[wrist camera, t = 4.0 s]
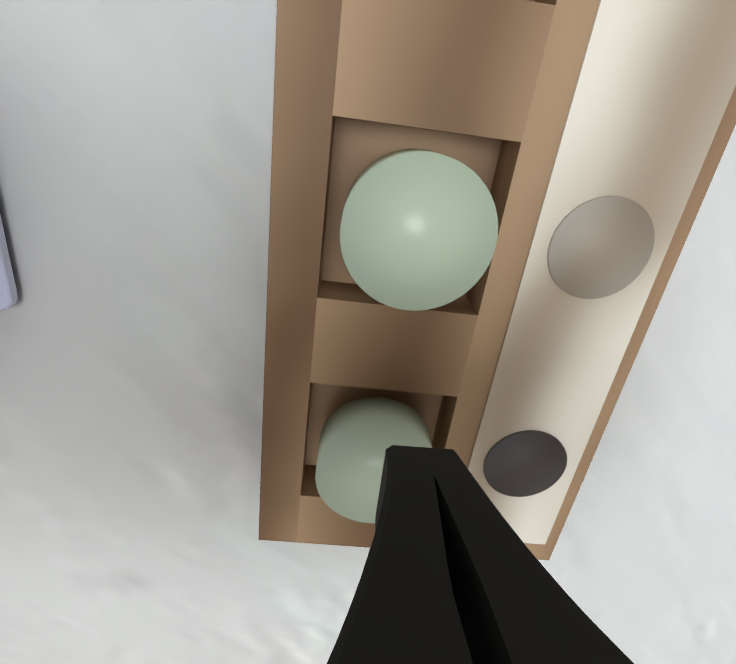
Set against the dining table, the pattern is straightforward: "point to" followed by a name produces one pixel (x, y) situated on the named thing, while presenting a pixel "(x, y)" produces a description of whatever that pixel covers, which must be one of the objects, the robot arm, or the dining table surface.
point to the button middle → (418, 229)
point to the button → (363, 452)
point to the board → (515, 229)
